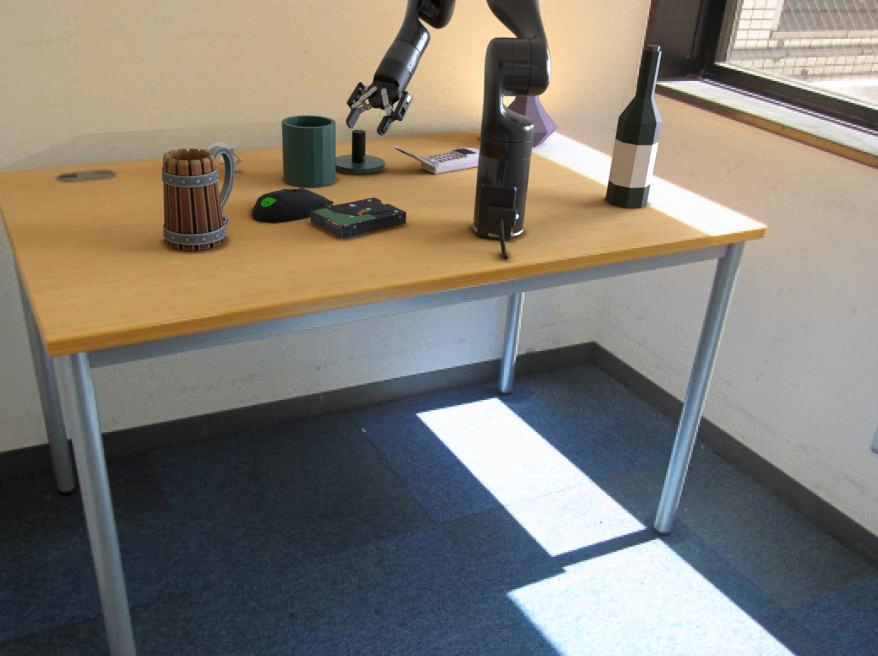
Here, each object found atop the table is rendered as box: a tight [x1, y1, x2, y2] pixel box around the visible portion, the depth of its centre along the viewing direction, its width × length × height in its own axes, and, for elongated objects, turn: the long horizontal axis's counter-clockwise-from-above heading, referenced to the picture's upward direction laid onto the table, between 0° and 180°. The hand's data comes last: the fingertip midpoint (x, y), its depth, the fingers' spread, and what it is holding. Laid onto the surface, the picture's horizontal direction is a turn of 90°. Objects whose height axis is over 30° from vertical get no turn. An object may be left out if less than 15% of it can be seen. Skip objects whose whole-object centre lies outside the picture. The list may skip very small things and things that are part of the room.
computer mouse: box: [251, 187, 334, 224], centre depth 168 cm, size 11×16×4 cm
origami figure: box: [205, 141, 244, 173], centre depth 189 cm, size 12×8×5 cm
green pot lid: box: [336, 129, 386, 174], centre depth 193 cm, size 12×12×8 cm
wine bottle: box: [604, 44, 663, 209], centre depth 173 cm, size 8×8×30 cm
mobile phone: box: [393, 145, 479, 175], centre depth 195 cm, size 6×6×25 cm
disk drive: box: [309, 197, 407, 239], centre depth 163 cm, size 10×3×15 cm
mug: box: [161, 146, 236, 252], centre depth 151 cm, size 16×11×15 cm
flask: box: [507, 95, 559, 148], centre depth 214 cm, size 16×16×20 cm
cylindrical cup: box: [281, 114, 337, 188], centre depth 183 cm, size 11×11×12 cm
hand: (364, 129), depth 192 cm, fingers open, 8 cm apart
